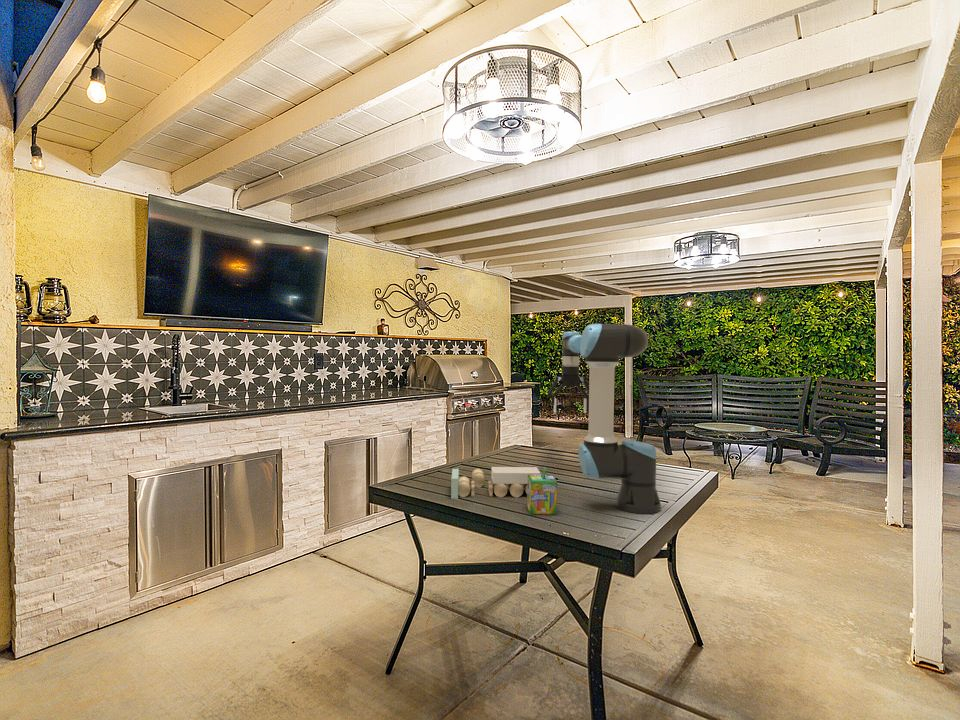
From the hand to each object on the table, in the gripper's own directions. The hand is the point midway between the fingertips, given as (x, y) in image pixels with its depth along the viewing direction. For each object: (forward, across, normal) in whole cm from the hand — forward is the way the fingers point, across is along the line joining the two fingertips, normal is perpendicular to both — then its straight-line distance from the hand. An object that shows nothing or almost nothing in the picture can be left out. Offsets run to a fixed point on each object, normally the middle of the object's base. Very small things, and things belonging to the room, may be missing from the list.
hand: (569, 412), depth 222 cm
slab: (+23, +26, +33) cm, 48 cm away
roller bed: (+28, +33, +33) cm, 55 cm away
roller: (+28, +41, +20) cm, 53 cm away
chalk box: (+28, +18, +54) cm, 63 cm away
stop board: (+28, +49, +34) cm, 66 cm away
